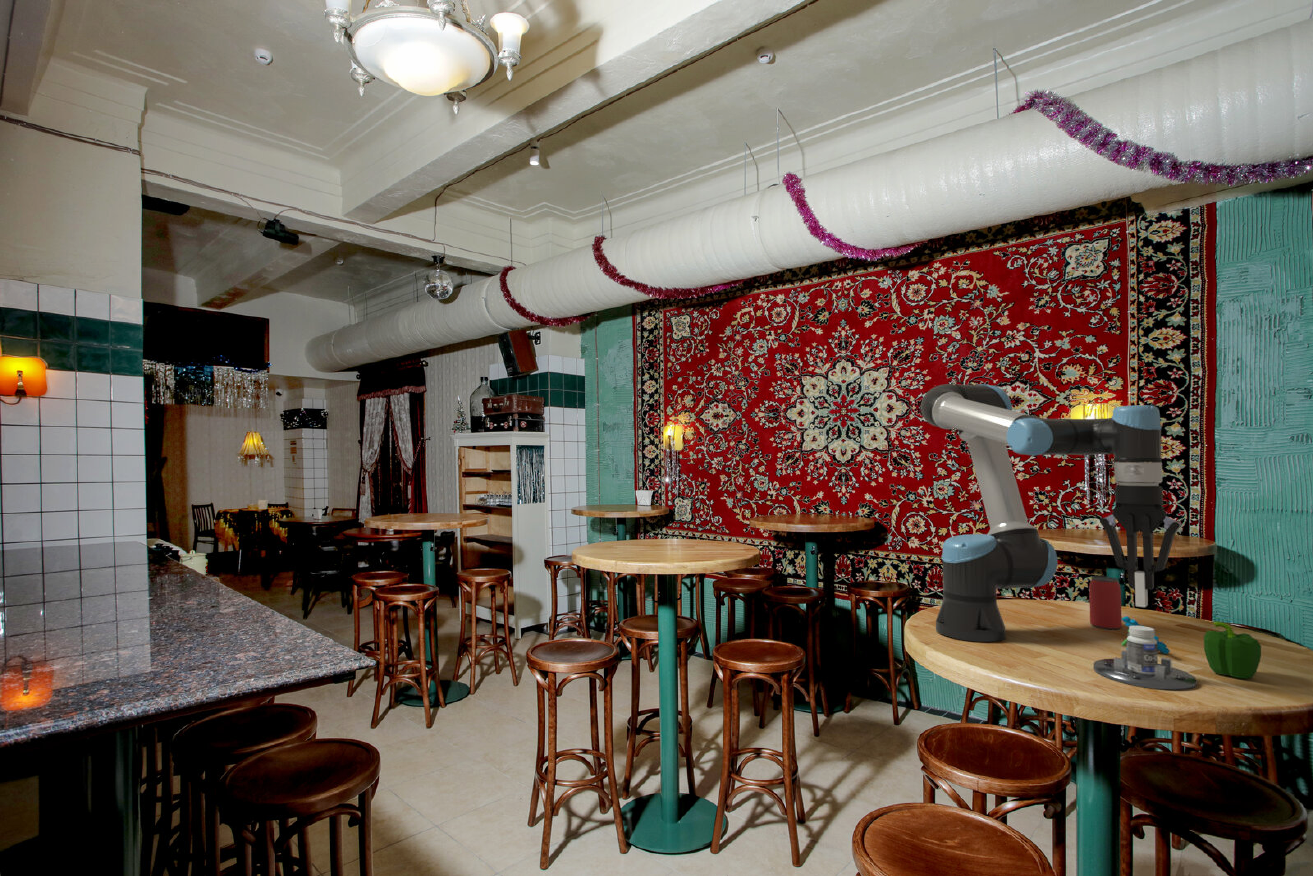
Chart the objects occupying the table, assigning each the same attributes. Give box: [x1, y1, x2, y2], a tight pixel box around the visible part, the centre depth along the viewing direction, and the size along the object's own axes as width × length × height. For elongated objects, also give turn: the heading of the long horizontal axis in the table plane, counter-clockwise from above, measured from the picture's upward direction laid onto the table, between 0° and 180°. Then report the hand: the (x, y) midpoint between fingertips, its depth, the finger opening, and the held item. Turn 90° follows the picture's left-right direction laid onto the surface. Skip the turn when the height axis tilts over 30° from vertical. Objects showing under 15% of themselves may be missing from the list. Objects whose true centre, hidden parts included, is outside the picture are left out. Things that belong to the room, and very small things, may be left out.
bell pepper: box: [1203, 621, 1262, 680], centre depth 127 cm, size 8×8×10 cm
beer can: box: [1088, 575, 1123, 630], centre depth 163 cm, size 7×7×12 cm
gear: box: [1120, 615, 1171, 655], centre depth 142 cm, size 11×6×10 cm
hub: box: [1092, 650, 1198, 691], centre depth 126 cm, size 16×16×3 cm
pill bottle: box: [1126, 625, 1159, 675], centre depth 126 cm, size 5×5×8 cm
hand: (1141, 605), depth 126 cm, fingers closed
